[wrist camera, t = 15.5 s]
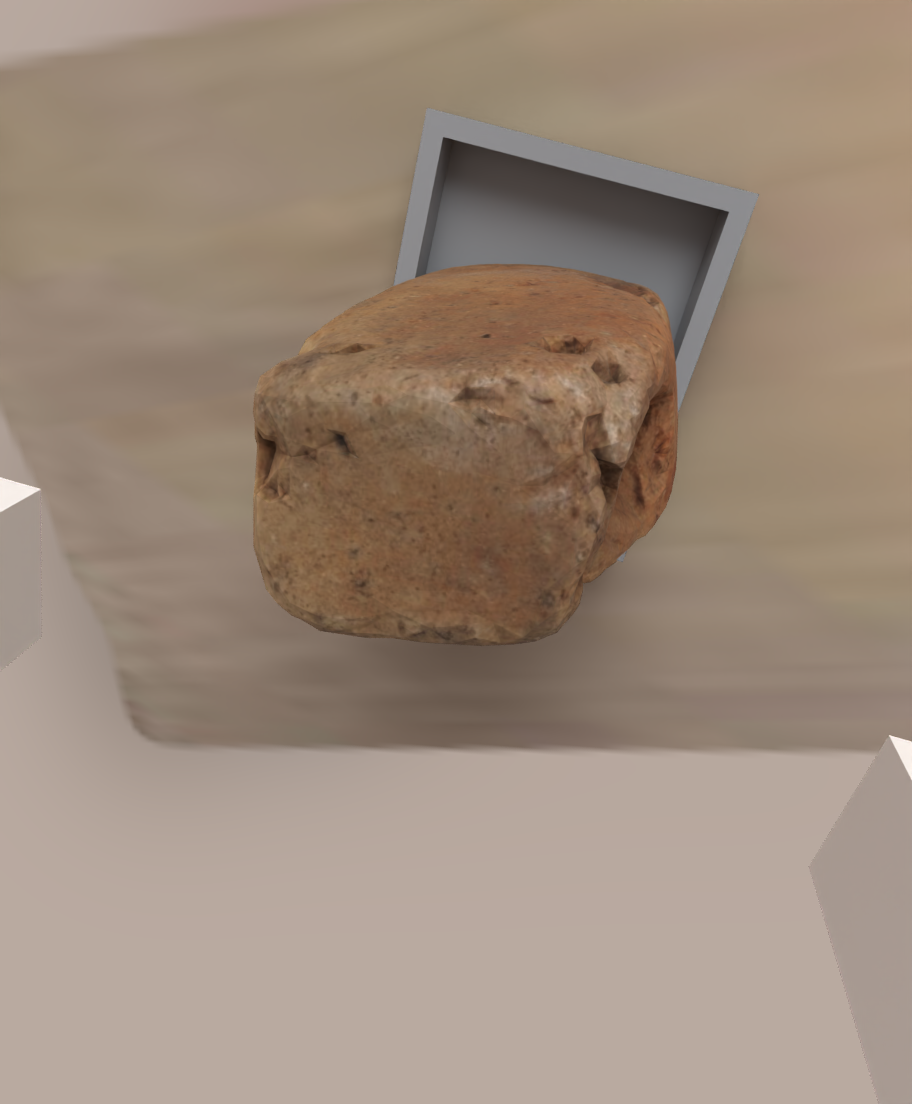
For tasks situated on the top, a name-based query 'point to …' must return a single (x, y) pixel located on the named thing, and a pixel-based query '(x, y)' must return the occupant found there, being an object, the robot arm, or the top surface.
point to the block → (465, 453)
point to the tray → (573, 219)
